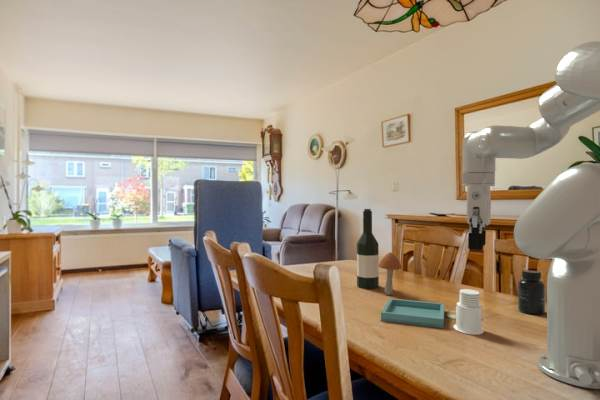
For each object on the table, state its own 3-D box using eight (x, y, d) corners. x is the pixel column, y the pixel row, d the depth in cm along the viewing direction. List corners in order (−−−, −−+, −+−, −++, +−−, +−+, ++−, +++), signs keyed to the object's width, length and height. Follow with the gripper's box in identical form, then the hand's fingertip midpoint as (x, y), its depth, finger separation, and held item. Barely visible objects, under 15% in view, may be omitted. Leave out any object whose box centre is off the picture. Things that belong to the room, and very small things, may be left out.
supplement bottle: (549, 316, 106) (549, 274, 106) (523, 314, 107) (523, 273, 108) (539, 309, 113) (539, 269, 113) (514, 308, 114) (514, 269, 114)
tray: (443, 328, 96) (443, 319, 96) (381, 320, 102) (381, 312, 102) (444, 311, 111) (444, 303, 111) (389, 305, 117) (389, 298, 117)
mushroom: (406, 296, 128) (406, 253, 128) (387, 298, 125) (387, 254, 125) (392, 291, 136) (392, 250, 136) (374, 293, 133) (374, 251, 133)
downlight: (446, 326, 97) (447, 288, 97) (466, 323, 100) (468, 286, 99) (469, 338, 90) (471, 297, 89) (491, 334, 92) (493, 294, 92)
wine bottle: (352, 285, 146) (352, 208, 146) (370, 283, 149) (370, 208, 149) (364, 289, 138) (364, 209, 138) (383, 287, 142) (382, 209, 142)
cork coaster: (481, 323, 99) (481, 321, 99) (445, 319, 103) (445, 318, 103) (479, 314, 108) (479, 312, 108) (446, 310, 111) (446, 309, 111)
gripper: (493, 179, 85) (491, 253, 86) (496, 181, 100) (495, 244, 101) (458, 179, 89) (456, 250, 90) (466, 181, 104) (465, 242, 105)
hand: (477, 247), depth 95 cm, fingers open, 9 cm apart
